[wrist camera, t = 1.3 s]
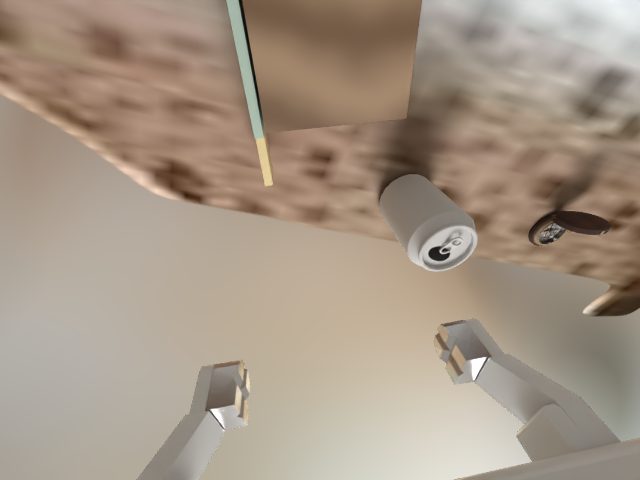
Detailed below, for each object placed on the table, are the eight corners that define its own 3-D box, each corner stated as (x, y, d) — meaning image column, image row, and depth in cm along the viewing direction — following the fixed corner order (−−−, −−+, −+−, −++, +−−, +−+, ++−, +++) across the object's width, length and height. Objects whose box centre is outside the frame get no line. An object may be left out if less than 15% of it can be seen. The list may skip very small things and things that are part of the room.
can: (366, 207, 36) (399, 265, 27) (401, 161, 33) (453, 208, 23) (404, 226, 39) (446, 284, 30) (440, 186, 36) (500, 236, 27)
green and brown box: (232, -92, 19) (216, -147, 14) (395, -97, 20) (441, -151, 15) (267, 115, 28) (265, 132, 22) (380, 104, 29) (406, 118, 23)
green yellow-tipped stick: (216, -88, 19) (200, -126, 14) (228, -88, 19) (215, -127, 14) (266, 169, 30) (265, 189, 26) (273, 168, 30) (273, 188, 26)
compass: (521, 245, 46) (557, 274, 40) (541, 206, 41) (585, 232, 35) (562, 239, 47) (603, 266, 41) (587, 200, 42) (638, 224, 36)
